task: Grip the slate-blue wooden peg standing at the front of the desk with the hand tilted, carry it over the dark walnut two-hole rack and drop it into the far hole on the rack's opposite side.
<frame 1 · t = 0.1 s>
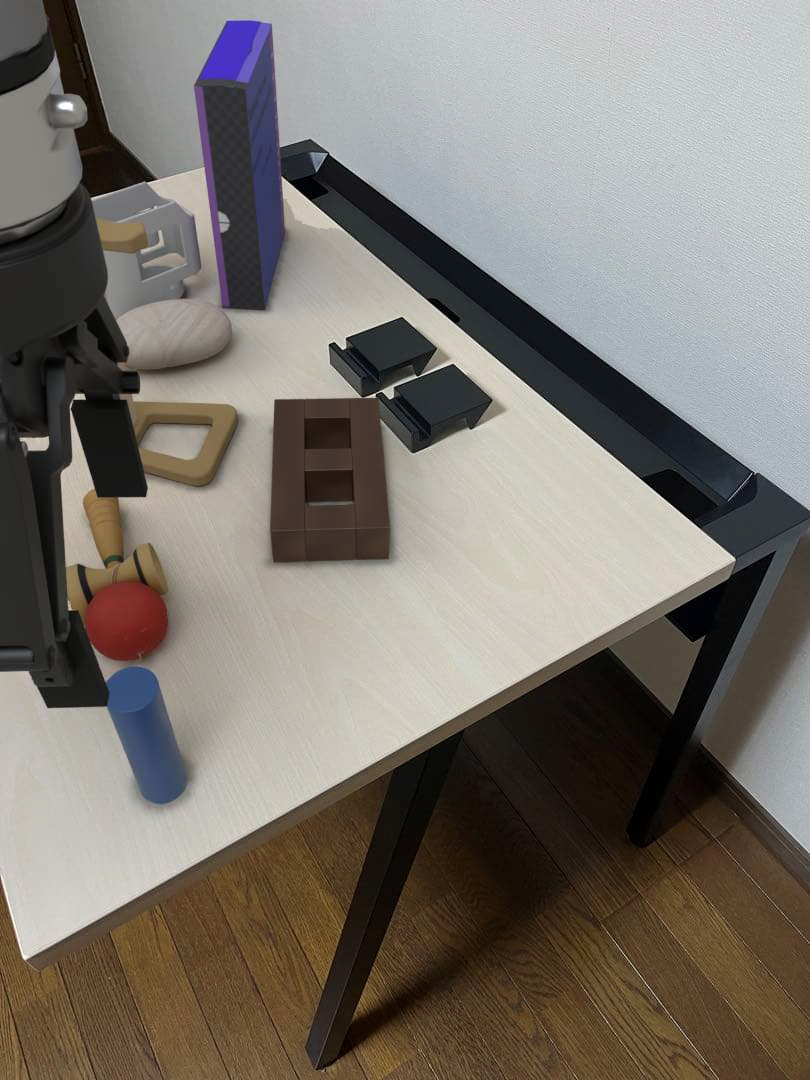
hand: (103, 587, 45), 21 cm above the table, tool pointing down, fingers open, 13 cm apart
rack: (329, 491, 80), on the table
decorative stone: (173, 356, 93), on the table
cable organizer: (155, 302, 99), on the table
headphone stand: (170, 444, 83), on the table
kendama: (120, 588, 72), on the table
peg: (163, 782, 60), on the table
cereal box: (255, 269, 104), on the table
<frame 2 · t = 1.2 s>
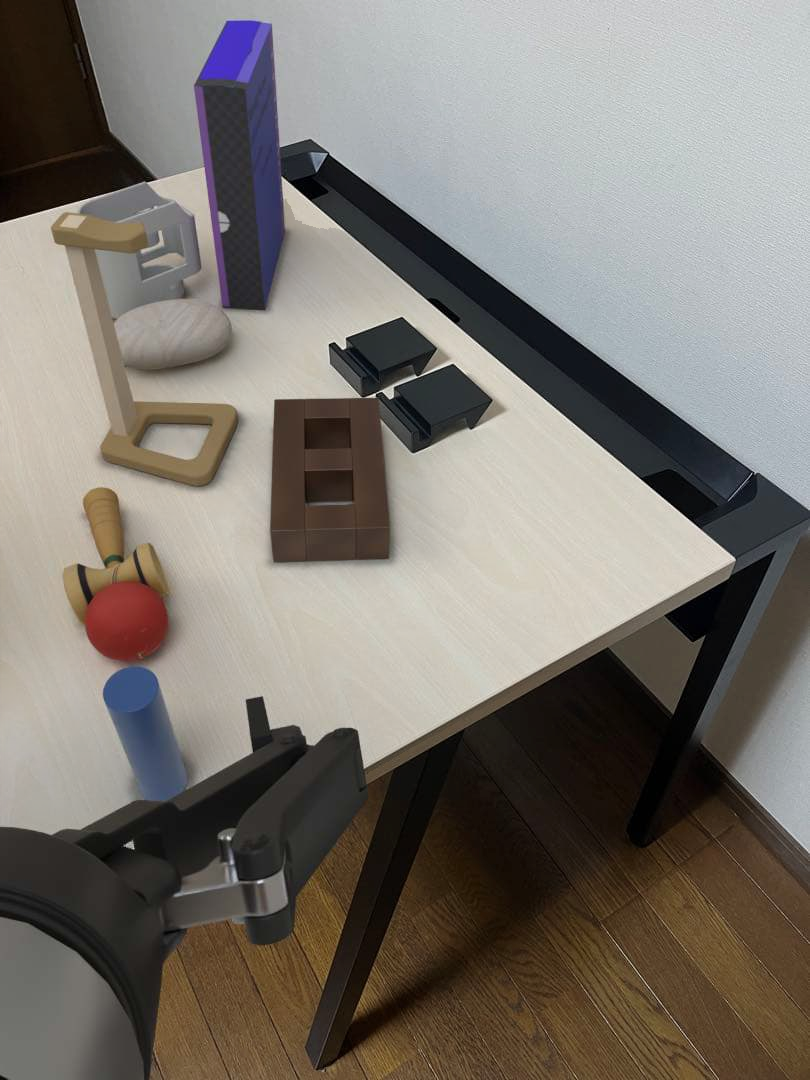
hand: (96, 761, 36), 23 cm above the table, tool tilted 45°, fingers open, 13 cm apart
nothing on the table moved.
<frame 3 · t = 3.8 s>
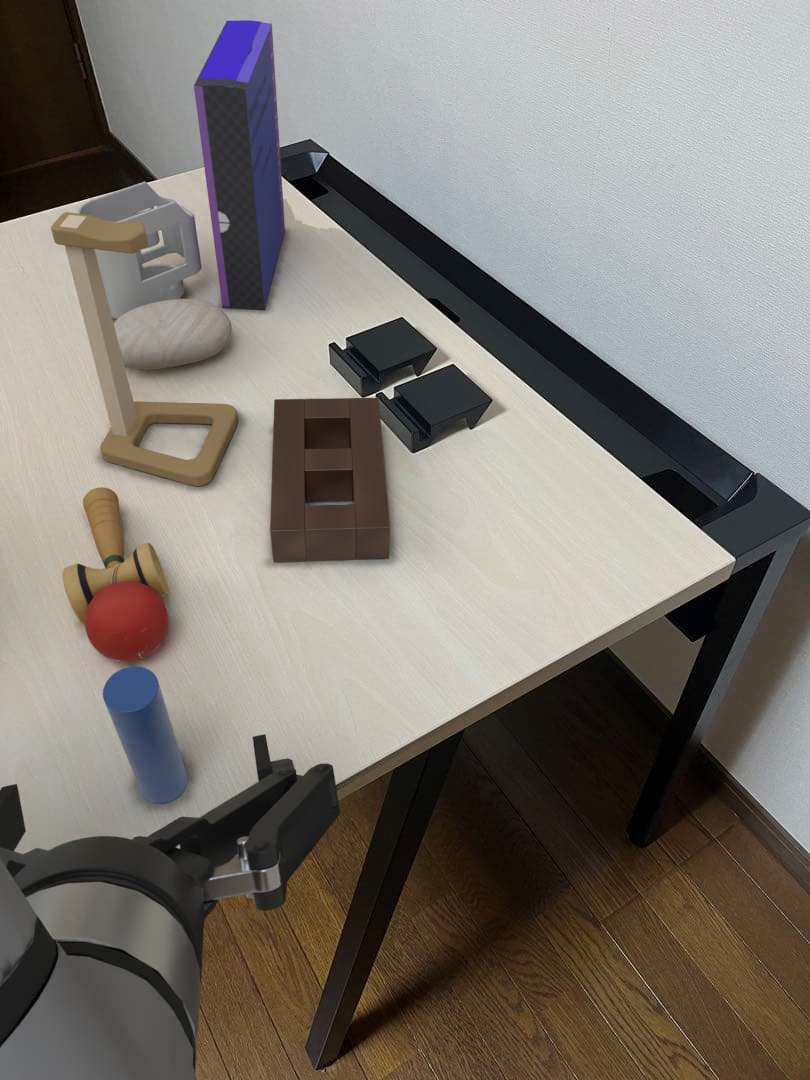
hand: (141, 782, 49), 10 cm above the table, tool tilted 45°, fingers open, 13 cm apart
nothing on the table moved.
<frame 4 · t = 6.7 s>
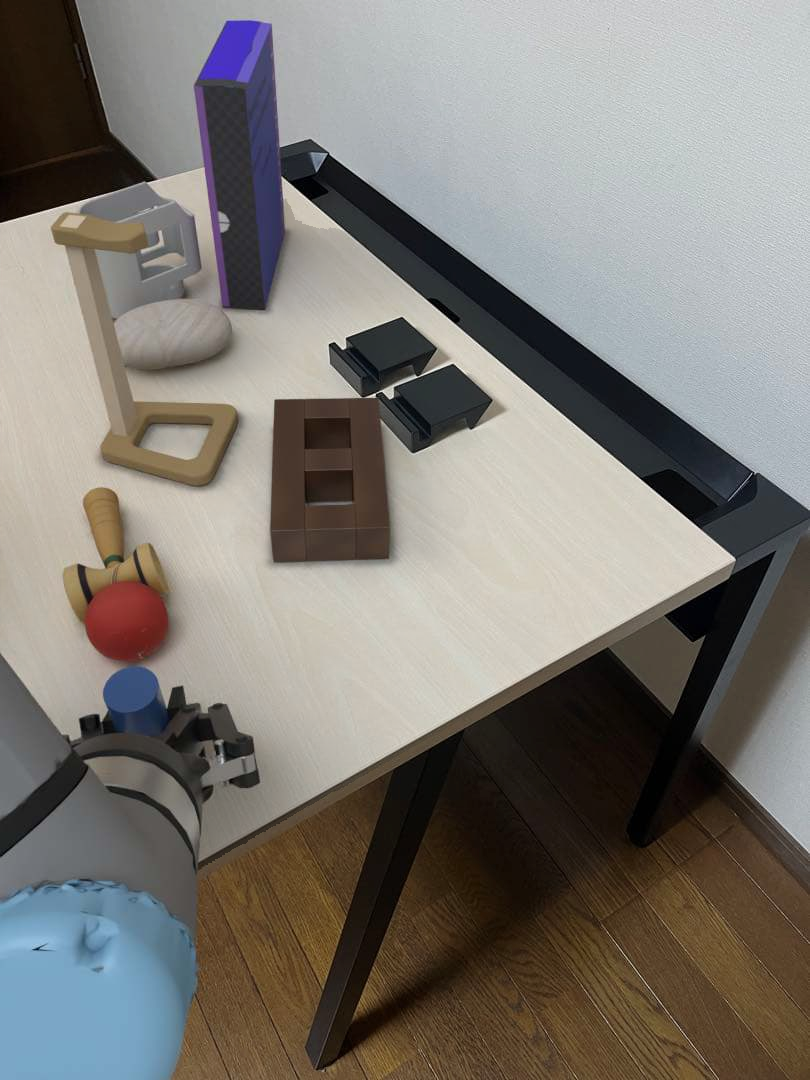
hand: (152, 710, 60), 3 cm above the table, tool tilted 45°, fingers closed on peg, 3 cm apart
peg: (163, 782, 60), on the table, touching gripper
everything else where it was.
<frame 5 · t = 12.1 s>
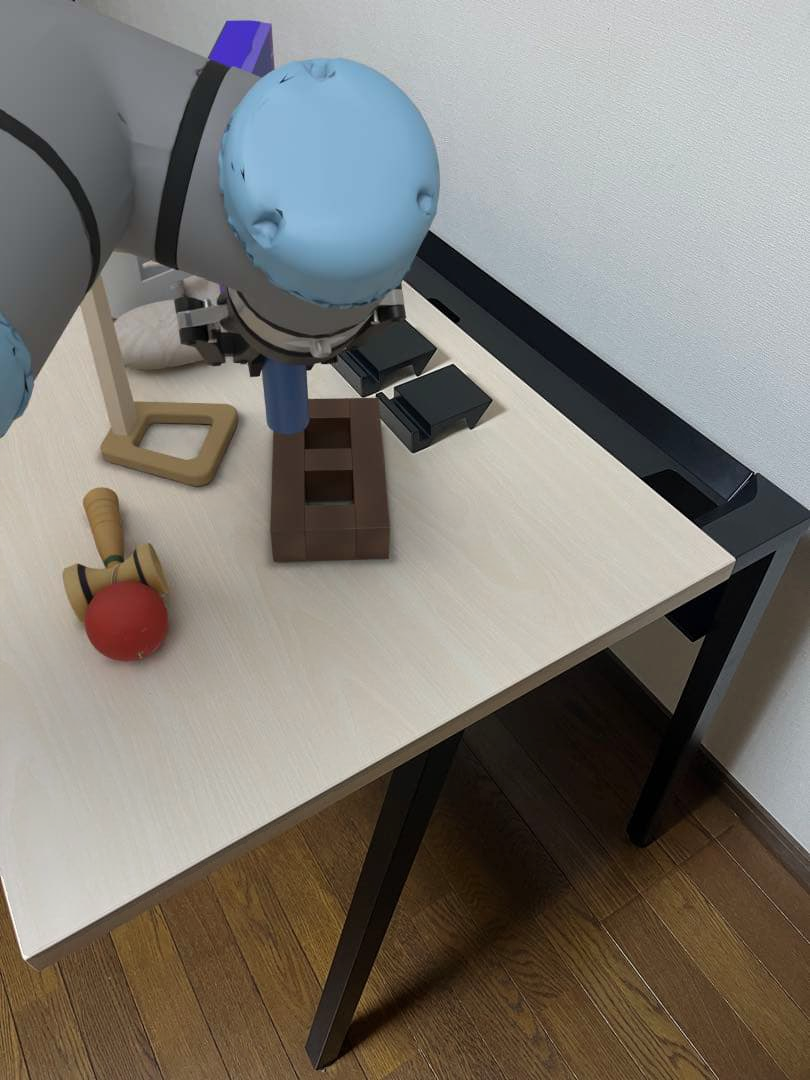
hand: (277, 355, 66), 16 cm above the table, tool tilted 45°, fingers closed on peg, 3 cm apart
peg: (288, 420, 66), point 13 cm above the table, touching gripper
everything else where it was.
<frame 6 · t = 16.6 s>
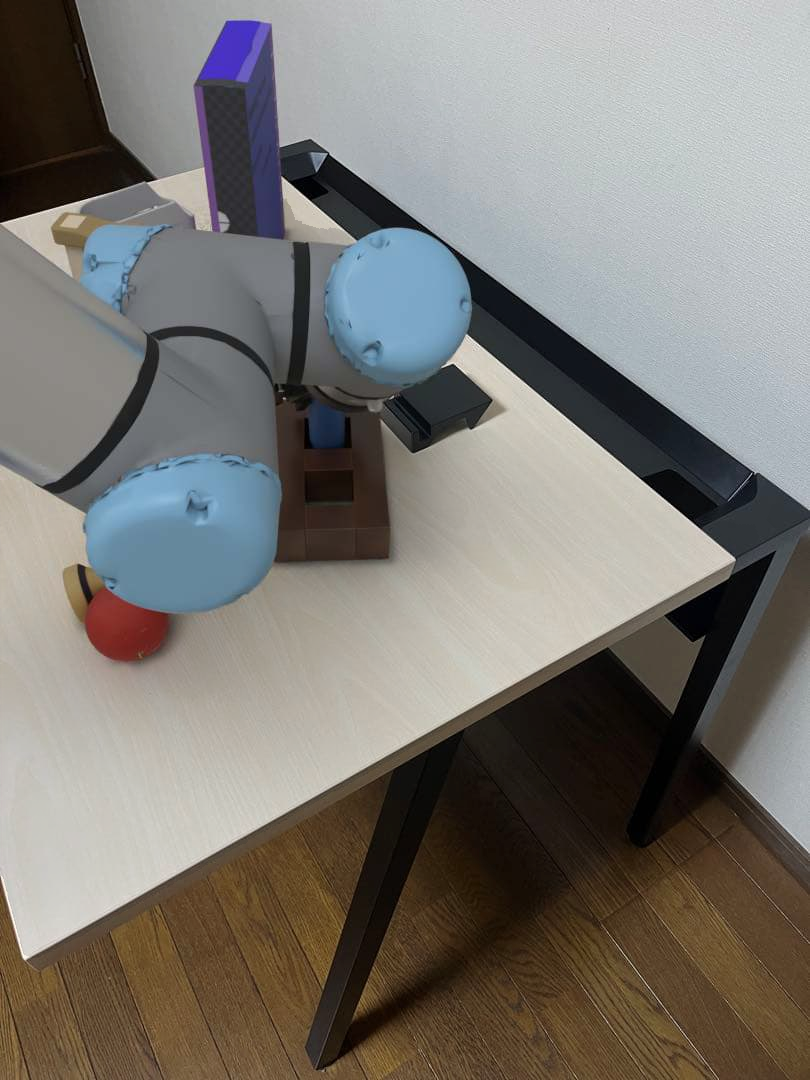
hand: (318, 393, 81), 5 cm above the table, tool tilted 45°, fingers closed on peg, 3 cm apart
peg: (327, 447, 80), point 2 cm above the table, touching gripper
everything else where it was.
when the fingers open (5 cm above the table, at t = 17.6 s): peg drops 2 cm, resting in rack.
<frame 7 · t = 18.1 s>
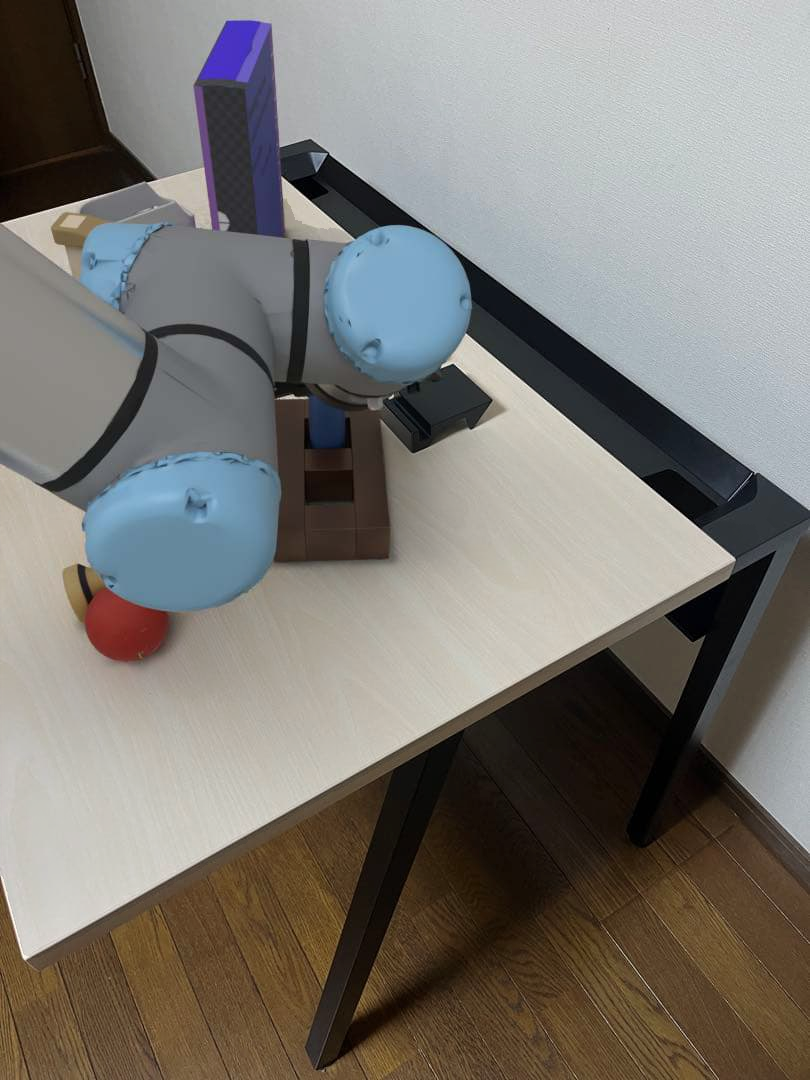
hand: (320, 390, 79), 7 cm above the table, tool tilted 45°, fingers open, 11 cm apart
peg: (328, 465, 82), resting in rack
everything else where it was.
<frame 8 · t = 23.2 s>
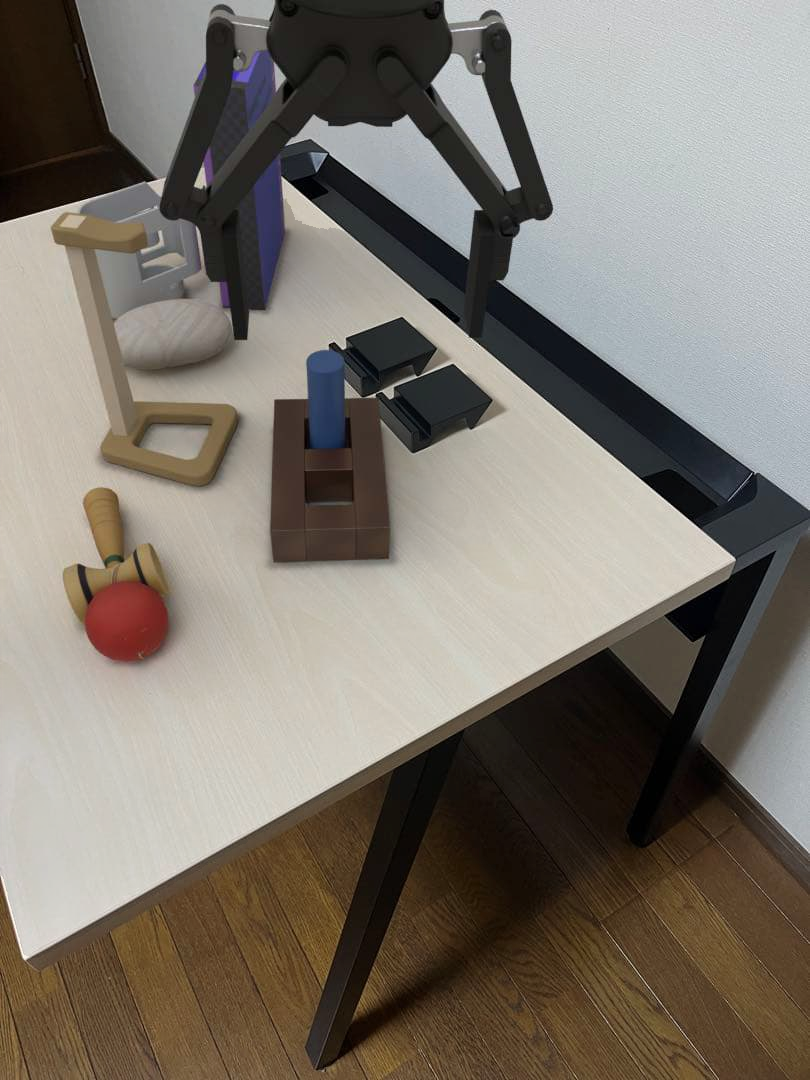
hand: (358, 326, 52), 27 cm above the table, tool pointing down, fingers open, 13 cm apart
nothing on the table moved.
at the end: peg 0.1 cm from the target spot in the rack, point 0.0 cm above the rack's base; peg tilted 0°; the gripper is holding nothing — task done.
